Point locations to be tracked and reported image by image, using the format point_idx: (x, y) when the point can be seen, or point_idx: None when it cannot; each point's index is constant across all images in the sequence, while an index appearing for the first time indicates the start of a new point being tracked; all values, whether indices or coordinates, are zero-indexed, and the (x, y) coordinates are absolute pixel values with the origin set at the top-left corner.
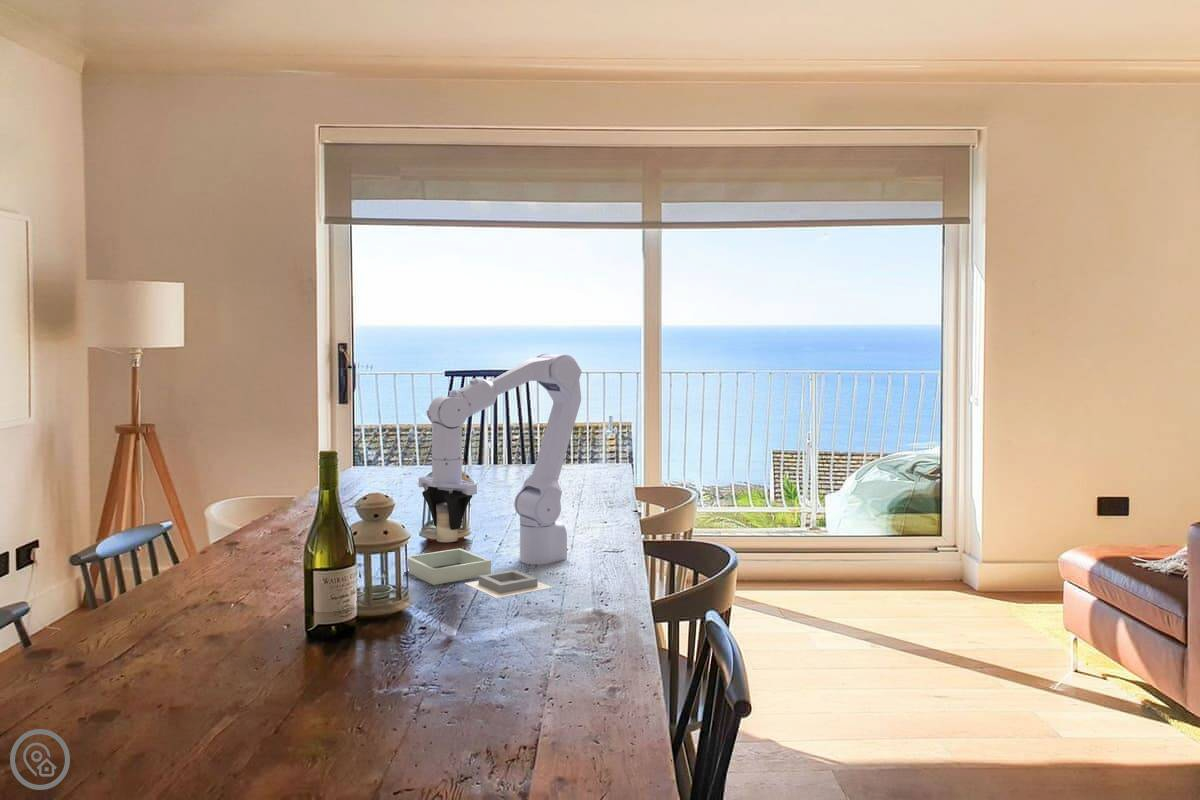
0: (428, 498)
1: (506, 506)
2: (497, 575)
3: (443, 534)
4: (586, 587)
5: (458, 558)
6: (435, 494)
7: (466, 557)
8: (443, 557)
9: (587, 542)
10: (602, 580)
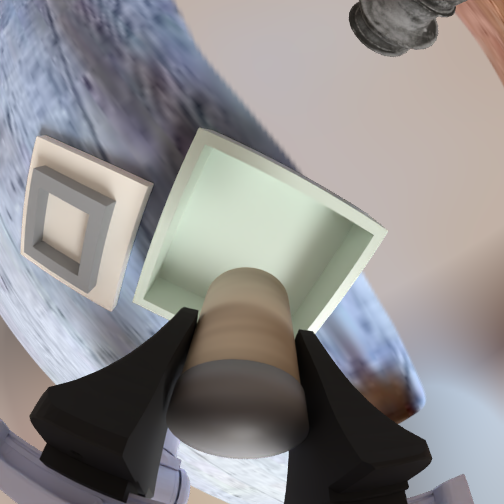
0: (369, 435)
1: None
2: (84, 239)
3: (232, 284)
4: (27, 301)
5: None
6: (327, 479)
7: None
8: (307, 316)
9: (195, 463)
10: (41, 339)
